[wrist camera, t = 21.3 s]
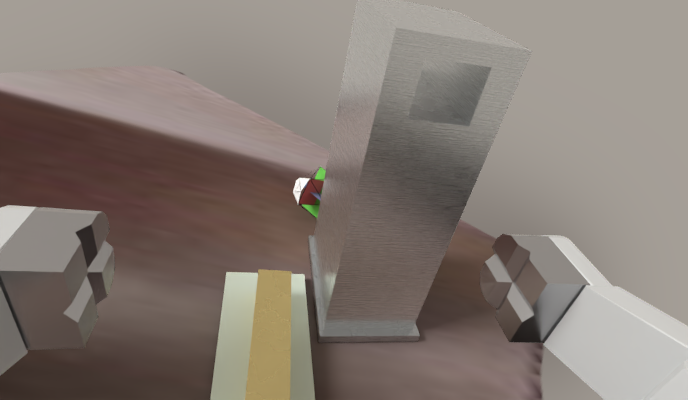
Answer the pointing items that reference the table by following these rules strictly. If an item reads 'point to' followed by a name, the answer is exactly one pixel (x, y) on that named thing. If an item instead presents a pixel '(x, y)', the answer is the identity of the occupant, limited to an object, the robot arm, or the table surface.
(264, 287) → the brass bar
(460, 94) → the rack post
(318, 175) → the geometric puzzle
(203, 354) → the table surface
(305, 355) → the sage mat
